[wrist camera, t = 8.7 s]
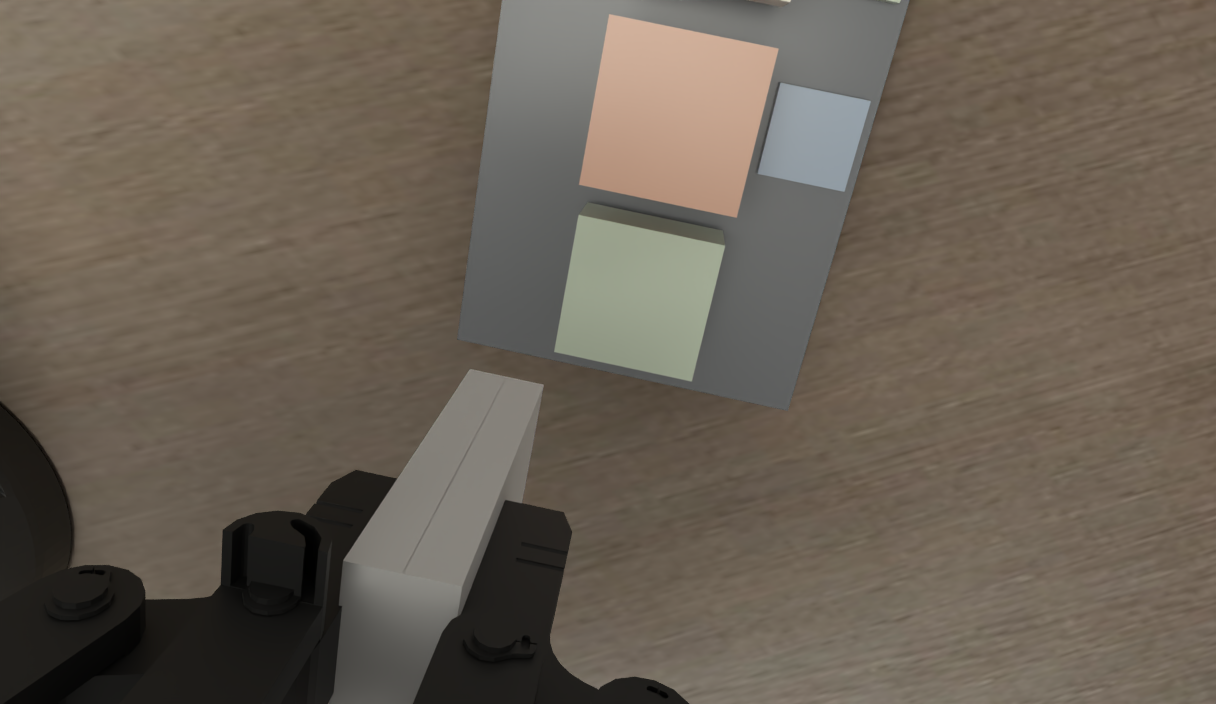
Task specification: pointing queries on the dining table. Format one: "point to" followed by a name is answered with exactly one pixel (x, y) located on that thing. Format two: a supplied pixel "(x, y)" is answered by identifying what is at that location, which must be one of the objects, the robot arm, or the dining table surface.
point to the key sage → (639, 290)
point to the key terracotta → (676, 115)
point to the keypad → (754, 241)
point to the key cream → (773, 2)
